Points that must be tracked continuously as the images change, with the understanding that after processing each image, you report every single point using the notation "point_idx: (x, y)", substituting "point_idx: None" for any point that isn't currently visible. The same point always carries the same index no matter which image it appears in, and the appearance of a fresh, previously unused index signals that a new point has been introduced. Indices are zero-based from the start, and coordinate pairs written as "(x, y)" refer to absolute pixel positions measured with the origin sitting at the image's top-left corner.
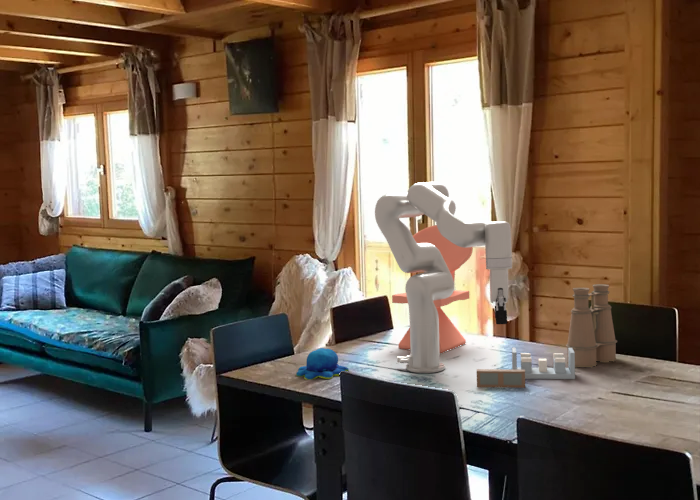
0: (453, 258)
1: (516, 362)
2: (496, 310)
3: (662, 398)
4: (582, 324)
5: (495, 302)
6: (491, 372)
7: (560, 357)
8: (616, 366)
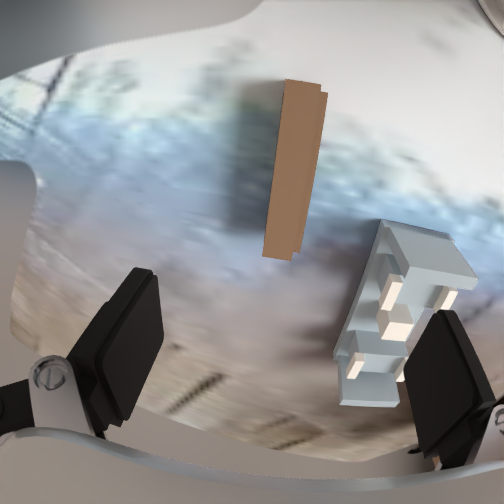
0: None
1: (395, 257)
2: (46, 357)
3: (186, 406)
4: (439, 459)
5: (480, 442)
6: (278, 137)
7: (397, 369)
8: (399, 413)
